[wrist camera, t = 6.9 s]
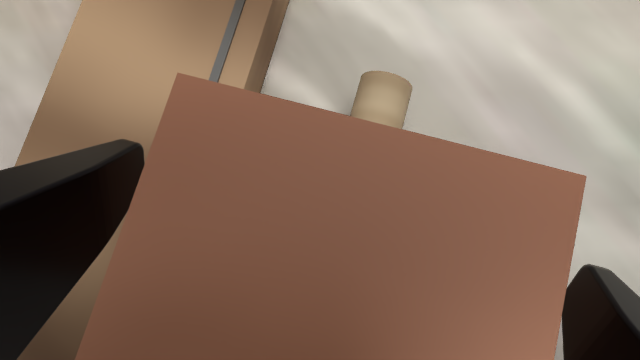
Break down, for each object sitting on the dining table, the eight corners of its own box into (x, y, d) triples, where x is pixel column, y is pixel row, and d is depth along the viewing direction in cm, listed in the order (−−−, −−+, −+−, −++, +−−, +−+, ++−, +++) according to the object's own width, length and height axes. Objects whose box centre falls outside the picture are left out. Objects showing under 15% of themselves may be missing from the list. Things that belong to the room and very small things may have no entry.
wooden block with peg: (391, 354, 15) (518, 558, 5) (249, 312, 16) (58, 405, 5) (444, 132, 17) (638, -116, 6) (313, 99, 17) (271, -188, 6)
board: (116, 543, 15) (79, 588, 12) (-66, 478, 15) (-130, 511, 13) (306, -53, 18) (302, -94, 16) (155, -86, 19) (133, -129, 17)
